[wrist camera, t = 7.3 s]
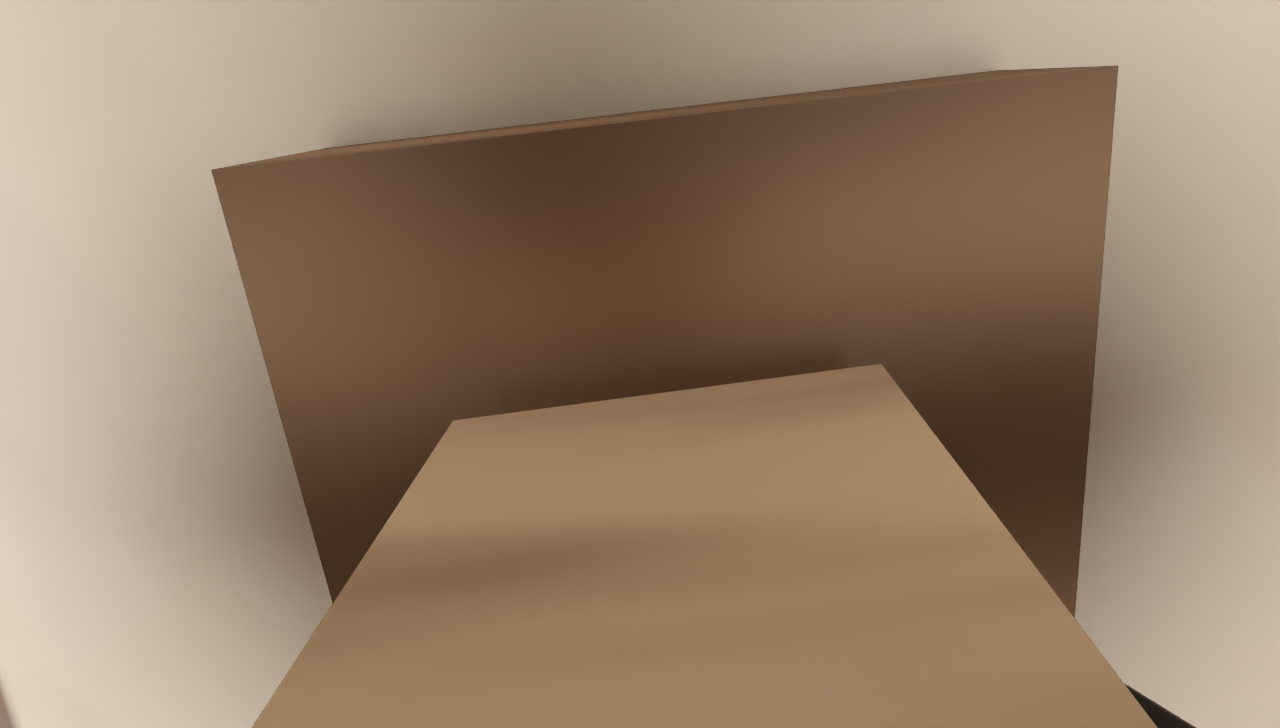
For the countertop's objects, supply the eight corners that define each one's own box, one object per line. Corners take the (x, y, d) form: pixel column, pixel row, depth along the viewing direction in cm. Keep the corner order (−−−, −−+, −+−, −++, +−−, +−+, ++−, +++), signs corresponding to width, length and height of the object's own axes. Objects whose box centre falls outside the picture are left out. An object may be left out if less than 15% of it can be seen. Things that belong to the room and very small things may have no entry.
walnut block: (972, 631, 17) (1060, 791, 13) (455, 665, 17) (395, 826, 14) (988, 70, 13) (1118, 65, 9) (337, 145, 14) (210, 169, 10)
